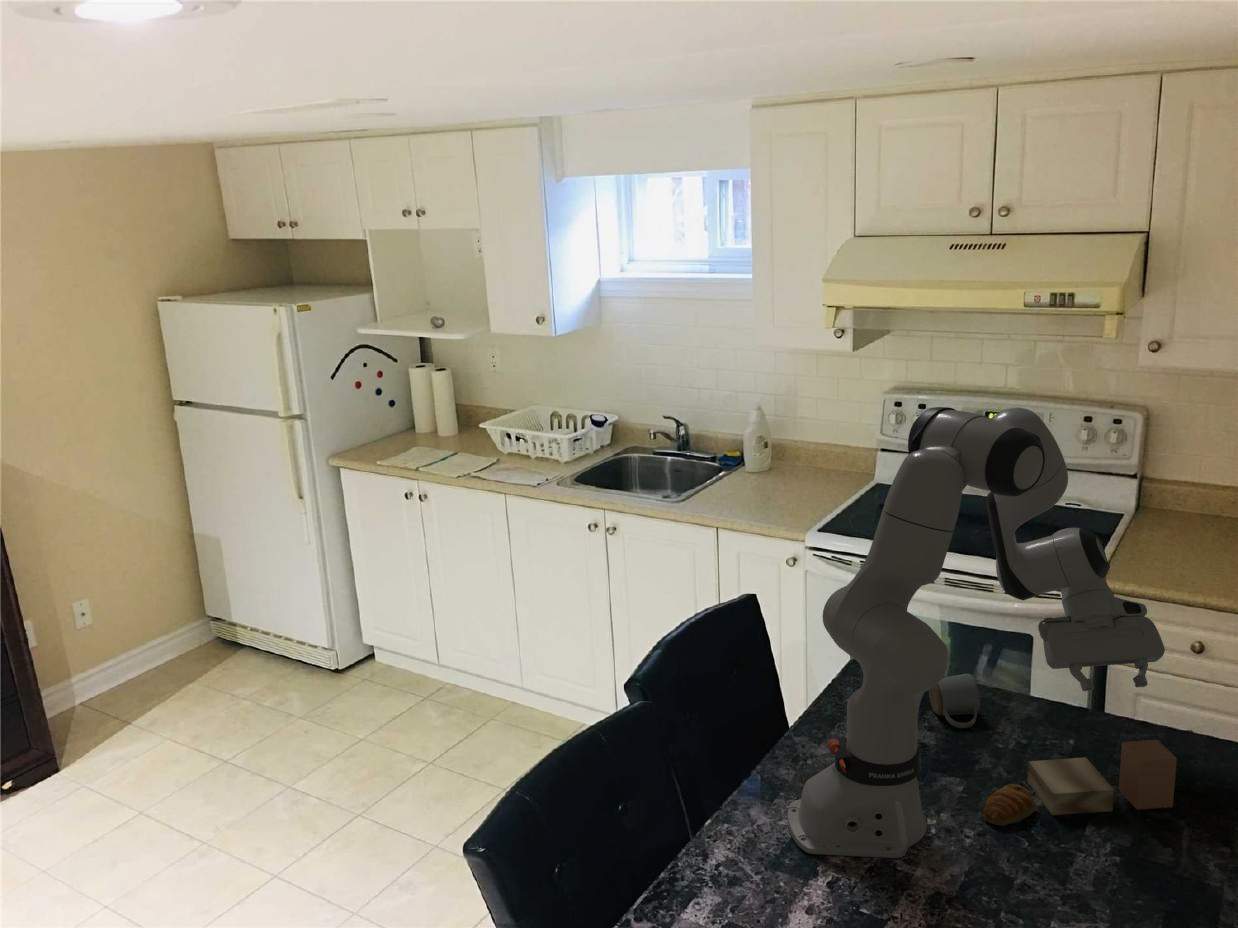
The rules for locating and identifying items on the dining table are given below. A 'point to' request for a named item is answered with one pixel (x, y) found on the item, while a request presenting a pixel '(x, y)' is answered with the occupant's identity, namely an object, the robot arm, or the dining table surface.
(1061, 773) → the oak base block
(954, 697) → the ceramic mug
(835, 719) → the dining table surface
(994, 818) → the pastry
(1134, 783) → the reddish brown block
